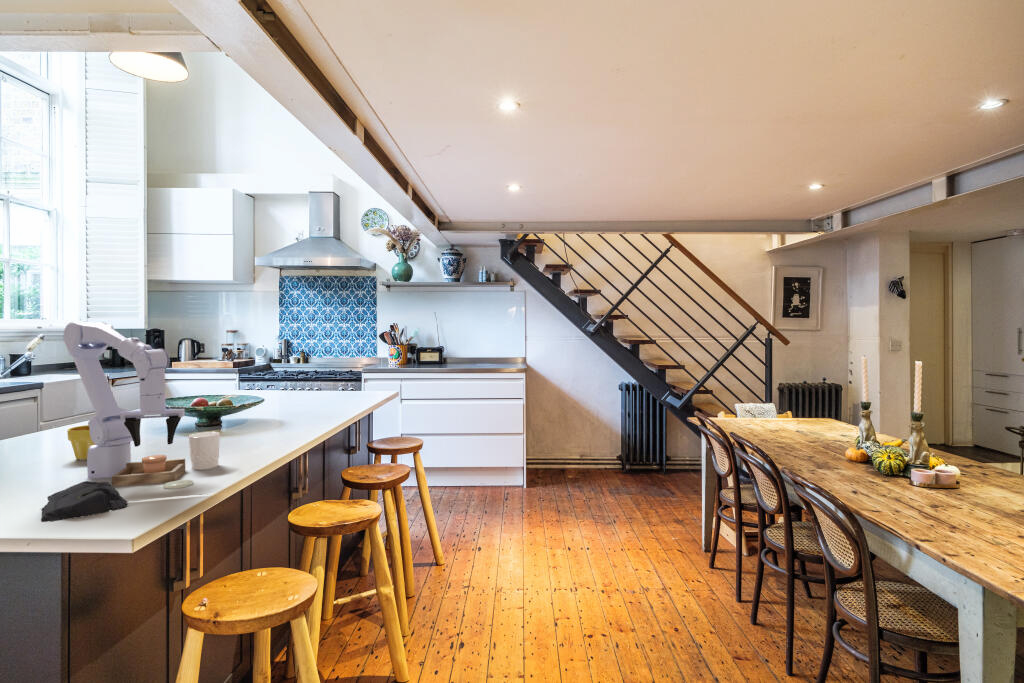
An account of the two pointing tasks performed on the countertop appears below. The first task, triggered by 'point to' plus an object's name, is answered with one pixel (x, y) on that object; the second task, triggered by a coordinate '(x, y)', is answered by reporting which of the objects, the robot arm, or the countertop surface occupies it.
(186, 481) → the saucer
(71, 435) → the plant pot
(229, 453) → the countertop surface
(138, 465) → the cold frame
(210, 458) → the white cup
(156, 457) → the tan bell-shaped knob
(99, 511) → the dark slate chunk
